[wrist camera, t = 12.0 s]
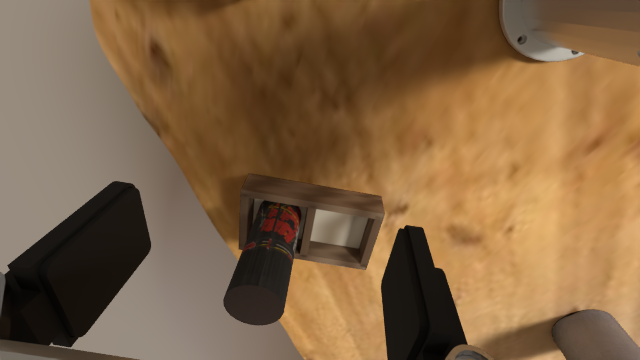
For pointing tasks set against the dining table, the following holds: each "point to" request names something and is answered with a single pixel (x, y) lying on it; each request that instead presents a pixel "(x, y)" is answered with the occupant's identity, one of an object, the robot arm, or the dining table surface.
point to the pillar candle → (594, 337)
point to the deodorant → (265, 266)
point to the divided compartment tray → (319, 219)
